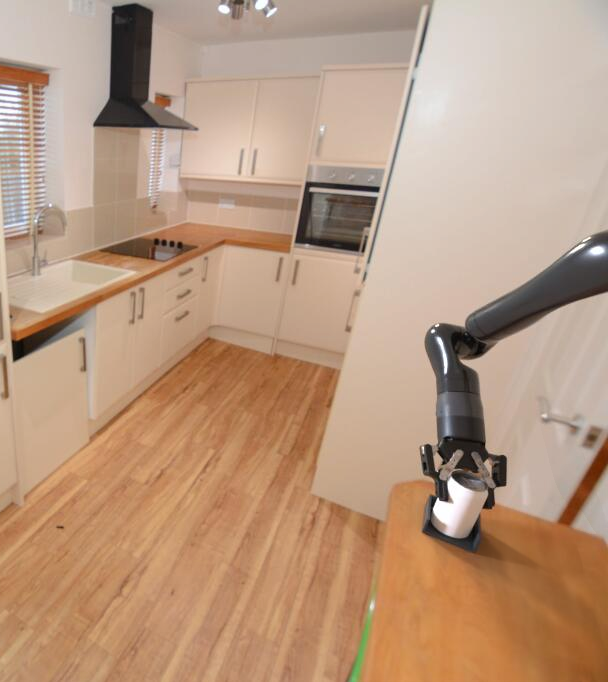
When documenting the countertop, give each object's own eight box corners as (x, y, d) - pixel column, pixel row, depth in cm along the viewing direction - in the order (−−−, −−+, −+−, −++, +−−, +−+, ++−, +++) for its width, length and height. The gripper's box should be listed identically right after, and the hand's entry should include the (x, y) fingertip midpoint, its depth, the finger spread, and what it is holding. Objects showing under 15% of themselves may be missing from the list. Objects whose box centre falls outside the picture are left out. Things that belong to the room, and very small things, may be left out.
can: (460, 517, 93) (481, 471, 87) (474, 543, 87) (498, 495, 82) (424, 511, 94) (442, 465, 89) (436, 535, 89) (456, 489, 83)
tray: (474, 553, 86) (481, 540, 84) (421, 532, 90) (427, 519, 89) (474, 519, 93) (480, 506, 91) (425, 501, 97) (430, 488, 96)
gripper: (427, 409, 89) (431, 497, 84) (514, 420, 86) (523, 513, 81) (410, 416, 96) (413, 498, 91) (490, 427, 93) (497, 512, 88)
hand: (465, 505), depth 86 cm, fingers closed on can, 6 cm apart
